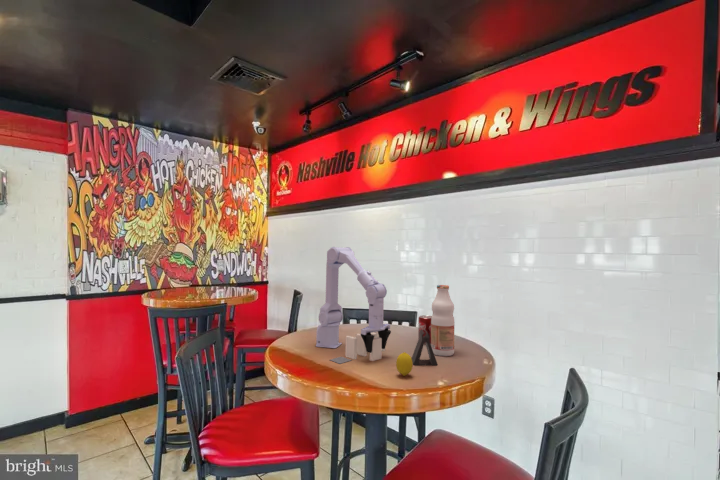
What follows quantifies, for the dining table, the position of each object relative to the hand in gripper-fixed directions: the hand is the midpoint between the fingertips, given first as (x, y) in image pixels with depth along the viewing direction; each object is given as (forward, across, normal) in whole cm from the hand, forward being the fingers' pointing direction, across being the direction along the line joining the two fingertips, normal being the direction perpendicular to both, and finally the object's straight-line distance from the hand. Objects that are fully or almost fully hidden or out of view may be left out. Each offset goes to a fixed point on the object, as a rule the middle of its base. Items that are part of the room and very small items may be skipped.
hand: (375, 350), depth 138 cm
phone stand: (+4, +10, -15) cm, 19 cm away
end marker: (+3, -11, +8) cm, 14 cm away
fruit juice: (+4, +26, -13) cm, 30 cm away
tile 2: (+3, +5, +8) cm, 10 cm away
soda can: (+4, +35, +1) cm, 35 cm away
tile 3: (+3, 0, +8) cm, 9 cm away
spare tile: (+3, 0, 0) cm, 4 cm away
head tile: (+3, +11, +8) cm, 14 cm away
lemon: (+4, -6, -19) cm, 20 cm away
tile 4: (+3, -6, +8) cm, 10 cm away
